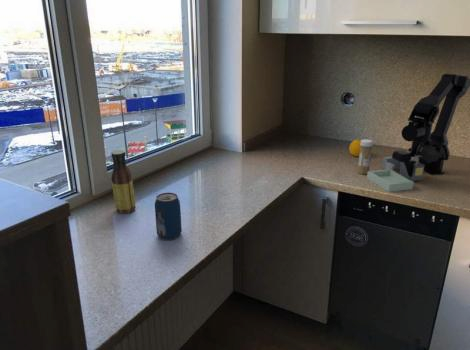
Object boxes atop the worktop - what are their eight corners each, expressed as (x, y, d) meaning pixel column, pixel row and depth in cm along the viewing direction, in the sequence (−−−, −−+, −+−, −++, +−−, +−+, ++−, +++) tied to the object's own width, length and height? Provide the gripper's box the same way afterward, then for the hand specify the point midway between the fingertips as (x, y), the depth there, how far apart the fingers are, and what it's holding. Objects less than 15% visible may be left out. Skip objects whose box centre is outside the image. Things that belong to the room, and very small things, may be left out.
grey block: (408, 172, 158) (410, 158, 156) (422, 179, 151) (424, 164, 149) (399, 173, 157) (401, 159, 155) (413, 180, 150) (415, 165, 148)
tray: (389, 175, 157) (390, 169, 156) (412, 189, 145) (413, 182, 144) (366, 178, 155) (367, 171, 154) (388, 191, 142) (389, 184, 141)
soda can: (182, 229, 116) (180, 191, 112) (180, 241, 110) (178, 201, 106) (158, 229, 116) (156, 191, 112) (155, 241, 110) (152, 202, 105)
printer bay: (397, 166, 167) (399, 155, 166) (407, 172, 161) (409, 160, 160) (381, 168, 166) (383, 157, 164) (391, 173, 160) (393, 161, 158)
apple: (345, 154, 184) (346, 138, 181) (358, 152, 187) (360, 136, 185) (356, 159, 177) (358, 142, 175) (370, 156, 180) (372, 140, 178)
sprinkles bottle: (367, 175, 158) (371, 142, 153) (356, 173, 160) (359, 141, 155) (370, 171, 162) (374, 139, 157) (358, 170, 164) (362, 138, 159)
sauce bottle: (128, 204, 132) (122, 147, 125) (139, 209, 129) (134, 150, 122) (111, 211, 128) (104, 151, 121) (123, 216, 124) (116, 155, 117)
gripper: (414, 144, 137) (407, 186, 142) (459, 140, 141) (451, 181, 147) (394, 135, 147) (388, 175, 152) (437, 132, 151) (430, 171, 157)
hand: (414, 176), depth 152 cm, fingers closed on grey block, 4 cm apart
